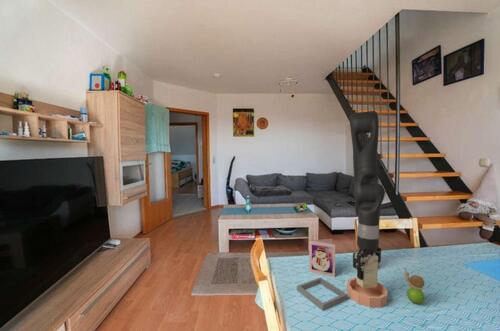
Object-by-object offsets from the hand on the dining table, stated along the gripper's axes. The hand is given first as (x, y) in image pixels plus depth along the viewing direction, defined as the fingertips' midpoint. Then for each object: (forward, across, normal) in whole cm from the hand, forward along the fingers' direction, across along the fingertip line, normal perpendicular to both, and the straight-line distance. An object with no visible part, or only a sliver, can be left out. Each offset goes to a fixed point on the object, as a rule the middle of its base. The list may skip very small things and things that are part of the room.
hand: (366, 276), depth 92 cm
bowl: (+8, 0, 0) cm, 8 cm away
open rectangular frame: (+8, +15, -9) cm, 19 cm away
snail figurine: (+8, -12, +11) cm, 18 cm away
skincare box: (+4, 0, 0) cm, 4 cm away
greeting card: (+8, +1, -22) cm, 23 cm away
